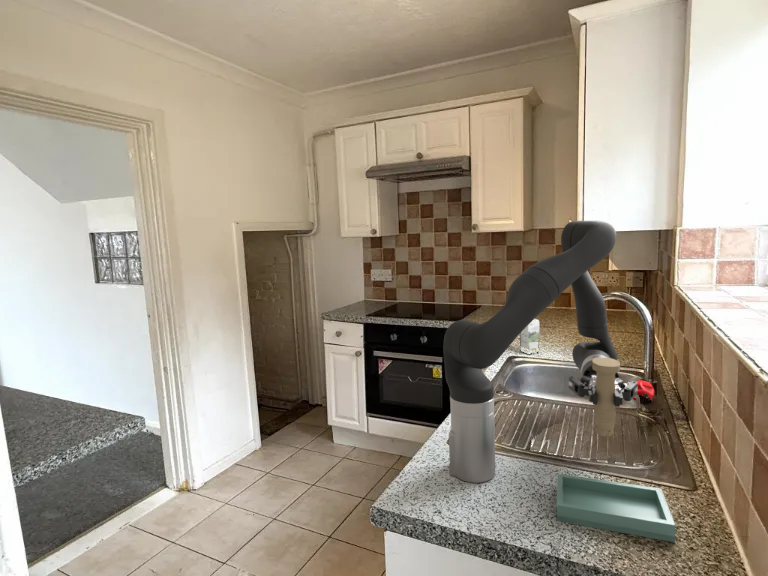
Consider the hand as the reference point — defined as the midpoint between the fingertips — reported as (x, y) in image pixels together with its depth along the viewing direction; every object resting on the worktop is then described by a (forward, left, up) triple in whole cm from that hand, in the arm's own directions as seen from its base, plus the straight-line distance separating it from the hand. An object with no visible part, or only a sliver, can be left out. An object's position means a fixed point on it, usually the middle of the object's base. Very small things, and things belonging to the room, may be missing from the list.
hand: (606, 400), depth 85 cm
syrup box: (-21, +101, -19) cm, 104 cm away
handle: (0, +3, -8) cm, 9 cm away
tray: (0, -8, -18) cm, 20 cm away
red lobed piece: (+14, +54, -19) cm, 59 cm away
